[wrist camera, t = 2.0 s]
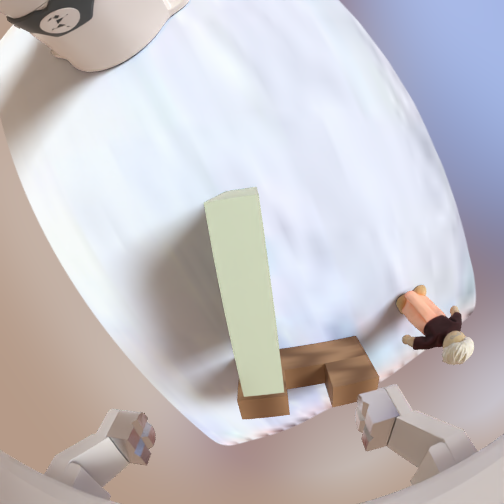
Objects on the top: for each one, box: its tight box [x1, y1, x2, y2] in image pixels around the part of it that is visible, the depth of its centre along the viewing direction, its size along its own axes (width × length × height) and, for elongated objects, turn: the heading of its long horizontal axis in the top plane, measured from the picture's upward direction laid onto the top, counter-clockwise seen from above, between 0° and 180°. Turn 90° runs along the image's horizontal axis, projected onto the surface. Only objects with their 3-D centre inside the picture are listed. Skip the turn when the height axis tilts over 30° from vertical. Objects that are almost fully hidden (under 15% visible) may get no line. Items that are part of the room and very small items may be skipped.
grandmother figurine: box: [396, 285, 474, 365], centre depth 23 cm, size 8×4×13 cm, turn 125°
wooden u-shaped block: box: [237, 336, 379, 419], centre depth 27 cm, size 14×3×8 cm, turn 98°
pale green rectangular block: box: [204, 187, 284, 397], centre depth 22 cm, size 14×3×12 cm, turn 8°
